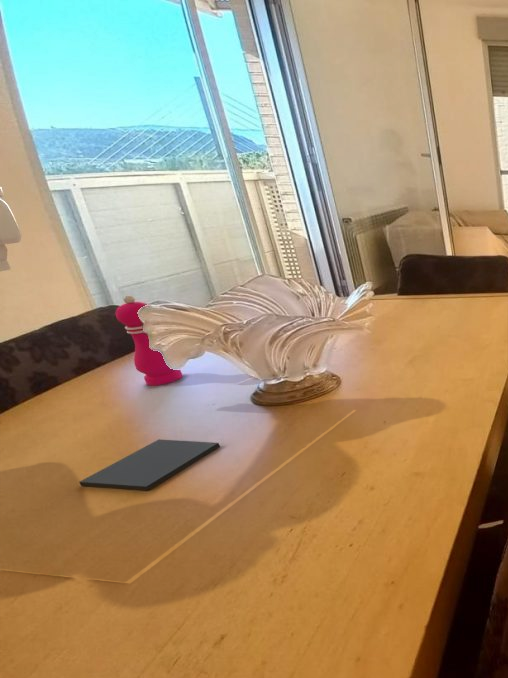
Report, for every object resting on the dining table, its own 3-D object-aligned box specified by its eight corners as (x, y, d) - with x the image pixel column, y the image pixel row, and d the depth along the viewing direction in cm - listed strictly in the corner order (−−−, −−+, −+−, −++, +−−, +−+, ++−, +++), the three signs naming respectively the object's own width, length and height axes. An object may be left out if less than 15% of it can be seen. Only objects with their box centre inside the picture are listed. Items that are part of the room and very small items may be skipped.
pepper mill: (135, 385, 107) (94, 299, 99) (170, 372, 113) (134, 290, 105) (159, 388, 105) (119, 300, 97) (193, 374, 111) (158, 291, 103)
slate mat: (81, 486, 73) (78, 481, 72) (160, 443, 84) (158, 439, 83) (148, 491, 71) (146, 486, 71) (220, 446, 82) (218, 442, 82)
